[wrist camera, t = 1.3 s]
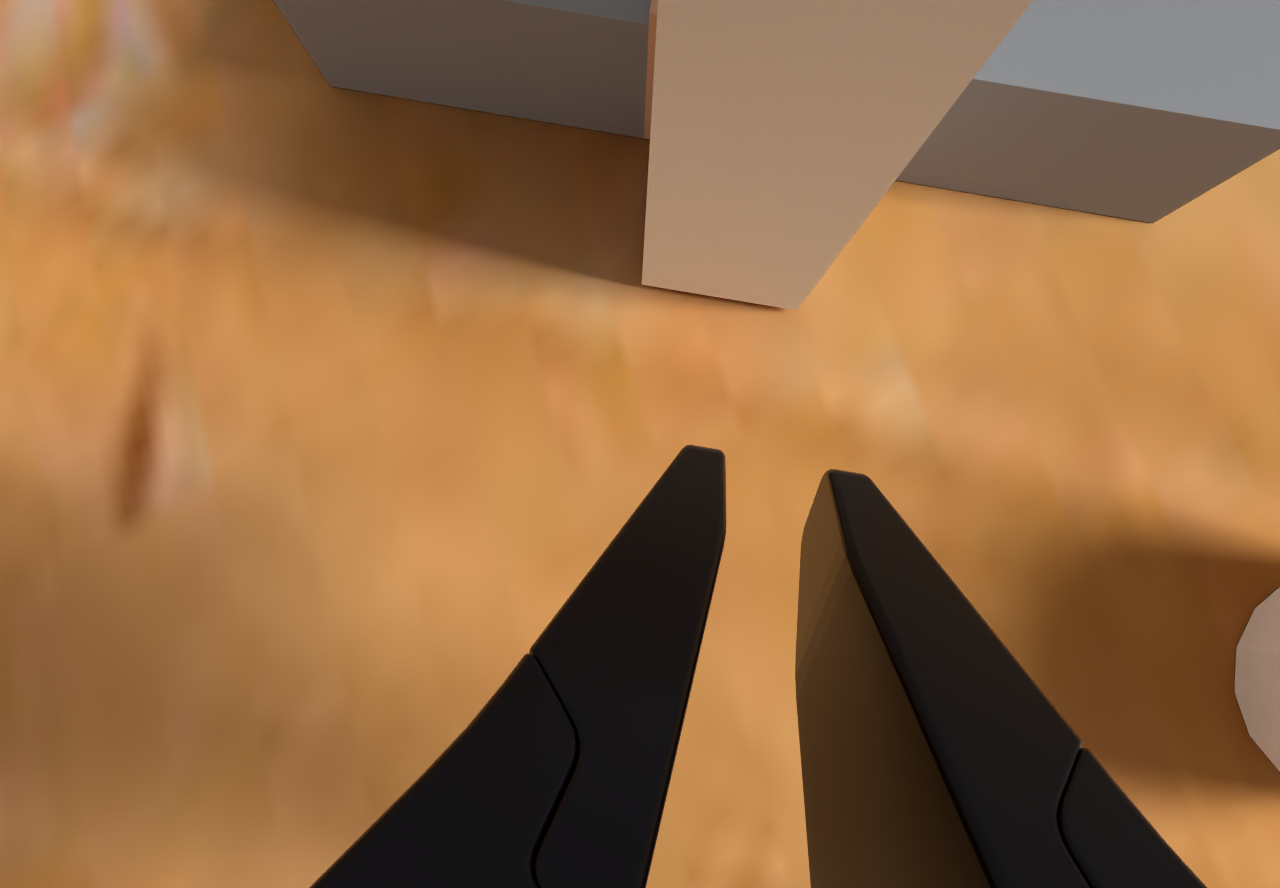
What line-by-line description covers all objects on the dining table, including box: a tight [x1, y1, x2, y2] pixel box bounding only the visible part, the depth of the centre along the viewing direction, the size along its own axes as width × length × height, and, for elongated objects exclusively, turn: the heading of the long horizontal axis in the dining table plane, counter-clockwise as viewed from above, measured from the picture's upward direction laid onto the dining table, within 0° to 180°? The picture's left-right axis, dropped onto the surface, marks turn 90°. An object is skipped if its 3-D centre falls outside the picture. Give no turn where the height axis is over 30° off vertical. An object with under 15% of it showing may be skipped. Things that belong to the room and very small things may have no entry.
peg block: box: [642, 0, 1033, 310], centre depth 15 cm, size 5×4×14 cm
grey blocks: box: [273, 0, 1280, 223], centre depth 20 cm, size 5×22×5 cm, turn 81°
